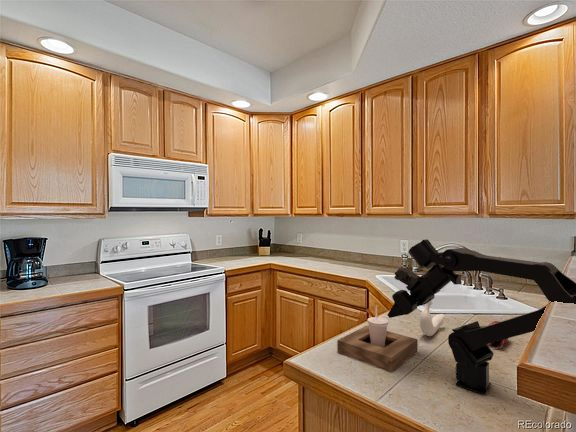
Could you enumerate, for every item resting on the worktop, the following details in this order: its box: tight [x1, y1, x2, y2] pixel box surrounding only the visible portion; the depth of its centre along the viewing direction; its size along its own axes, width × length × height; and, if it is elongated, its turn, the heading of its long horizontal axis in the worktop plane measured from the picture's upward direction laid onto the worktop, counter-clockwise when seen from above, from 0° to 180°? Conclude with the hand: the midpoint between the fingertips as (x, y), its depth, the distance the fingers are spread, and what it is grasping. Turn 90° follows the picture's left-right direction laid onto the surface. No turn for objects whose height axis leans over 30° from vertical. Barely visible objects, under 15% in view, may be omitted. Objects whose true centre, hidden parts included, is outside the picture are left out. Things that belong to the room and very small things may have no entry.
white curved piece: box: [419, 300, 446, 337], centre depth 113 cm, size 5×19×15 cm, turn 141°
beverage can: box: [487, 320, 510, 350], centre depth 104 cm, size 7×12×7 cm, turn 133°
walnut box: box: [336, 325, 419, 373], centre depth 98 cm, size 18×18×4 cm
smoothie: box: [366, 305, 389, 348], centre depth 98 cm, size 6×6×14 cm
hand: (395, 312), depth 95 cm, fingers open, 9 cm apart
